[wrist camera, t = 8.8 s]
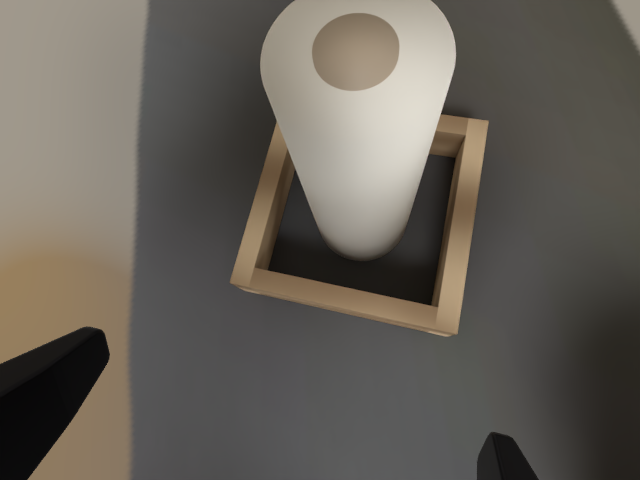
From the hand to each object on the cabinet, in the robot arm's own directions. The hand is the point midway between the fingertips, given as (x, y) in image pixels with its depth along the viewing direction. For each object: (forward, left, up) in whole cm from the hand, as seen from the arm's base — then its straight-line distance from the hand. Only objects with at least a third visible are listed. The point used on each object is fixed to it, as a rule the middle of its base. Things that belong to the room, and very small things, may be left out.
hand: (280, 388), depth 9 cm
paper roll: (+4, +7, -12) cm, 15 cm away
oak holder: (+4, +7, -12) cm, 15 cm away
